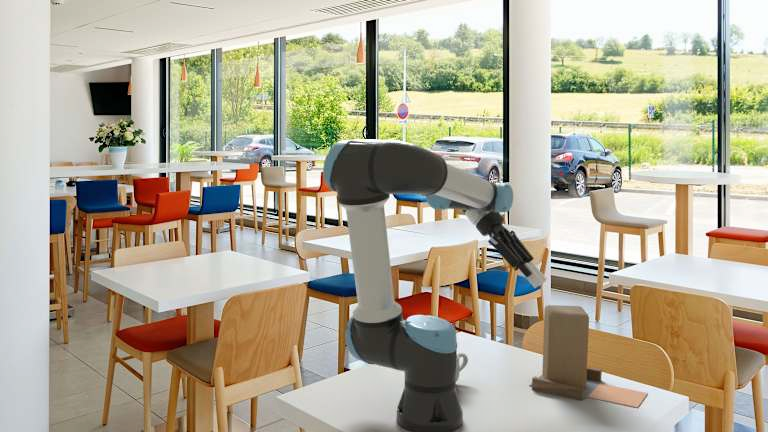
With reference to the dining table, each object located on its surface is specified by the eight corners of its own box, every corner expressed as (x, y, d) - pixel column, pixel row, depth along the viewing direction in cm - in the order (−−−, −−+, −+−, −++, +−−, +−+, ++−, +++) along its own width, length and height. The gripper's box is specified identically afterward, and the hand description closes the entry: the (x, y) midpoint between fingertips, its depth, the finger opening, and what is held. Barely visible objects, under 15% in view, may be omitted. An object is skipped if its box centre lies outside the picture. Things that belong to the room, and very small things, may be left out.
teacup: (426, 394, 168) (426, 363, 167) (412, 379, 178) (413, 350, 177) (477, 389, 171) (477, 359, 171) (461, 375, 182) (461, 346, 181)
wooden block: (579, 377, 180) (582, 305, 178) (586, 391, 170) (590, 315, 168) (541, 375, 181) (544, 304, 179) (547, 389, 171) (549, 313, 169)
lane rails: (582, 400, 164) (582, 388, 164) (531, 389, 171) (532, 378, 171) (601, 380, 178) (601, 369, 178) (554, 370, 186) (554, 360, 185)
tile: (637, 408, 160) (637, 407, 160) (587, 397, 167) (587, 396, 167) (647, 393, 169) (647, 393, 169) (600, 384, 176) (600, 383, 176)
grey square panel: (586, 398, 166) (586, 397, 166) (529, 385, 174) (529, 385, 174) (601, 382, 177) (601, 382, 176) (546, 371, 185) (546, 371, 185)
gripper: (482, 210, 175) (540, 280, 168) (505, 206, 188) (560, 270, 181) (463, 229, 179) (520, 298, 172) (488, 223, 192) (541, 287, 185)
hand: (541, 283), depth 176 cm, fingers open, 3 cm apart
